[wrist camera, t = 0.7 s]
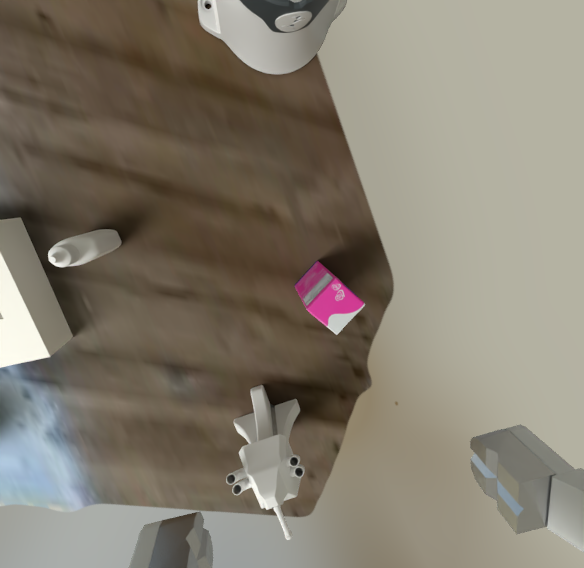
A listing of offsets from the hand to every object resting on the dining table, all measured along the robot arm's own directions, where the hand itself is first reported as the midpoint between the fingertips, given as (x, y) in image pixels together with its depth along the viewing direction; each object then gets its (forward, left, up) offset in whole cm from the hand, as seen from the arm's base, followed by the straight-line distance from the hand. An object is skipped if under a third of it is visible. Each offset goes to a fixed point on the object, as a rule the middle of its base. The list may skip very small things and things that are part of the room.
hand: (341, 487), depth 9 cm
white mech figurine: (+31, -6, -42) cm, 52 cm away
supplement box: (+8, +7, -42) cm, 43 cm away
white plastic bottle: (-5, -23, -42) cm, 48 cm away
